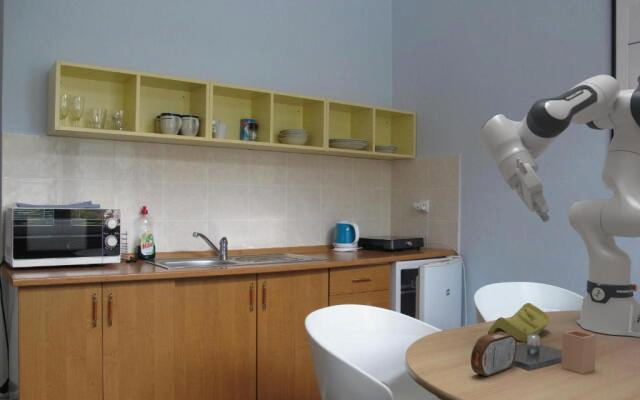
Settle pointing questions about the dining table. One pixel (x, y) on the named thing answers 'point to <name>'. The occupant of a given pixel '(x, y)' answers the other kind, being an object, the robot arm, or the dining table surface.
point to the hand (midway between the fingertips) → (546, 216)
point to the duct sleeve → (578, 351)
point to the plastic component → (522, 323)
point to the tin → (493, 353)
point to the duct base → (535, 354)
